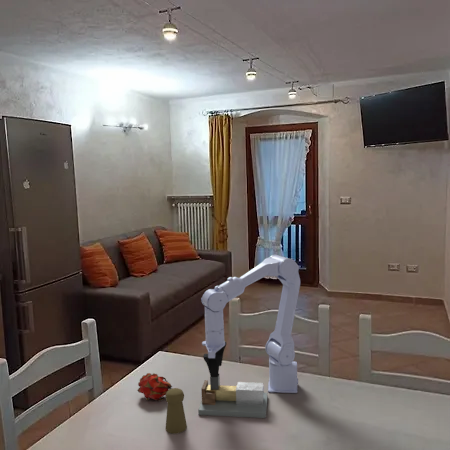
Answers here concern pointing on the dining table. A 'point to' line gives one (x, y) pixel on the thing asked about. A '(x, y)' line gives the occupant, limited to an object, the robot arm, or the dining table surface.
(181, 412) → the olive green pawn
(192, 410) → the dining table surface
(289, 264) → the robot arm
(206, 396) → the walnut socket
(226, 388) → the brushed brass bar
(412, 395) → the dining table surface
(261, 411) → the slate board
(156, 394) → the dragon fruit
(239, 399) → the aluminium sleeve
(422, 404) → the dining table surface
